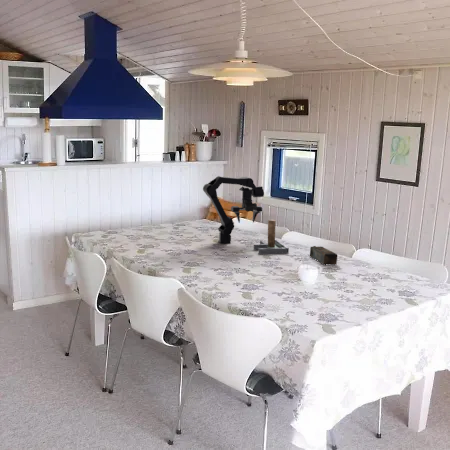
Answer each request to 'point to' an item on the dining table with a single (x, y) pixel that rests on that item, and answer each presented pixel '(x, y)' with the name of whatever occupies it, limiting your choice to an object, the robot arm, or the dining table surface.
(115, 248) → the dining table surface
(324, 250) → the dark grey box
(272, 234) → the walnut post
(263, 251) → the metal rail corridor
